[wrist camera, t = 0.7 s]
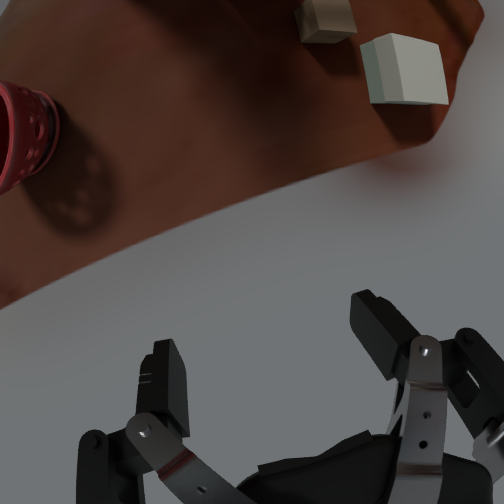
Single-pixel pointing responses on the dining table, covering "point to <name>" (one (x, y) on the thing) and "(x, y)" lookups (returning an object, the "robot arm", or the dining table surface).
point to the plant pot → (25, 133)
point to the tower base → (375, 75)
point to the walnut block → (324, 21)
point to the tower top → (410, 70)
